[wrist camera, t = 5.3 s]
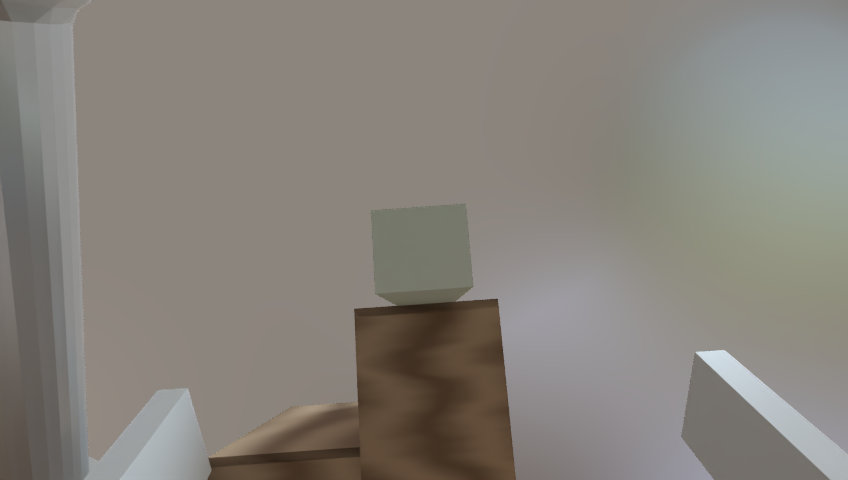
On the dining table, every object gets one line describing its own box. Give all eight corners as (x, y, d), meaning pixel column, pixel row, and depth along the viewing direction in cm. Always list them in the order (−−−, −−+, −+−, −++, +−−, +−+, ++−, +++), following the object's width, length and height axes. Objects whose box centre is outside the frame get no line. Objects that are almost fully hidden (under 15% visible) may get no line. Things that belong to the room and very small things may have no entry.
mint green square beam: (374, 293, 18) (370, 210, 19) (409, 312, 49) (407, 281, 50) (473, 287, 18) (465, 203, 19) (444, 309, 49) (442, 278, 50)
